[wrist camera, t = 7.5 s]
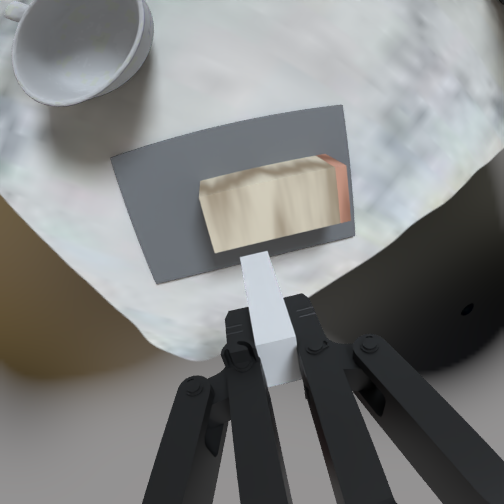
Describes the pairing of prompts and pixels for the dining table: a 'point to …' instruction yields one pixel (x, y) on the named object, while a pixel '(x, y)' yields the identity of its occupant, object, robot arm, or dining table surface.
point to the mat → (213, 165)
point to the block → (275, 201)
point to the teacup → (78, 47)
